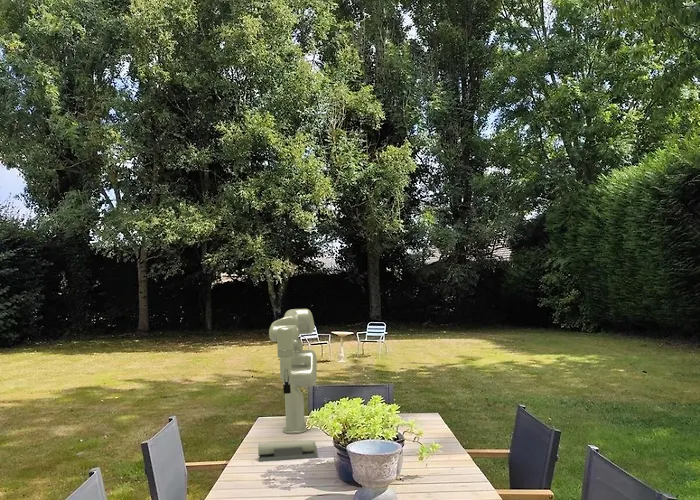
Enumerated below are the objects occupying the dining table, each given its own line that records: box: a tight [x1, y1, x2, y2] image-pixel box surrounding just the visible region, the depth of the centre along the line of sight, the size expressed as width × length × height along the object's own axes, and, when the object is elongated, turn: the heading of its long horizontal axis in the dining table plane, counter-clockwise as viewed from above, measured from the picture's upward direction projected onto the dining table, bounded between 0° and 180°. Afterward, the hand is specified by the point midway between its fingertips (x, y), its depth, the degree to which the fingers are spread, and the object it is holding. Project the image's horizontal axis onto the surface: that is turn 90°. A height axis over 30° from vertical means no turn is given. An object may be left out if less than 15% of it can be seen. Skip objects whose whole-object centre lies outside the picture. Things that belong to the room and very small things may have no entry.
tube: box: [257, 439, 317, 457], centre depth 247 cm, size 5×5×25 cm
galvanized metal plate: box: [258, 445, 319, 462], centre depth 249 cm, size 12×25×4 cm, turn 95°
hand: (287, 393), depth 263 cm, fingers closed
